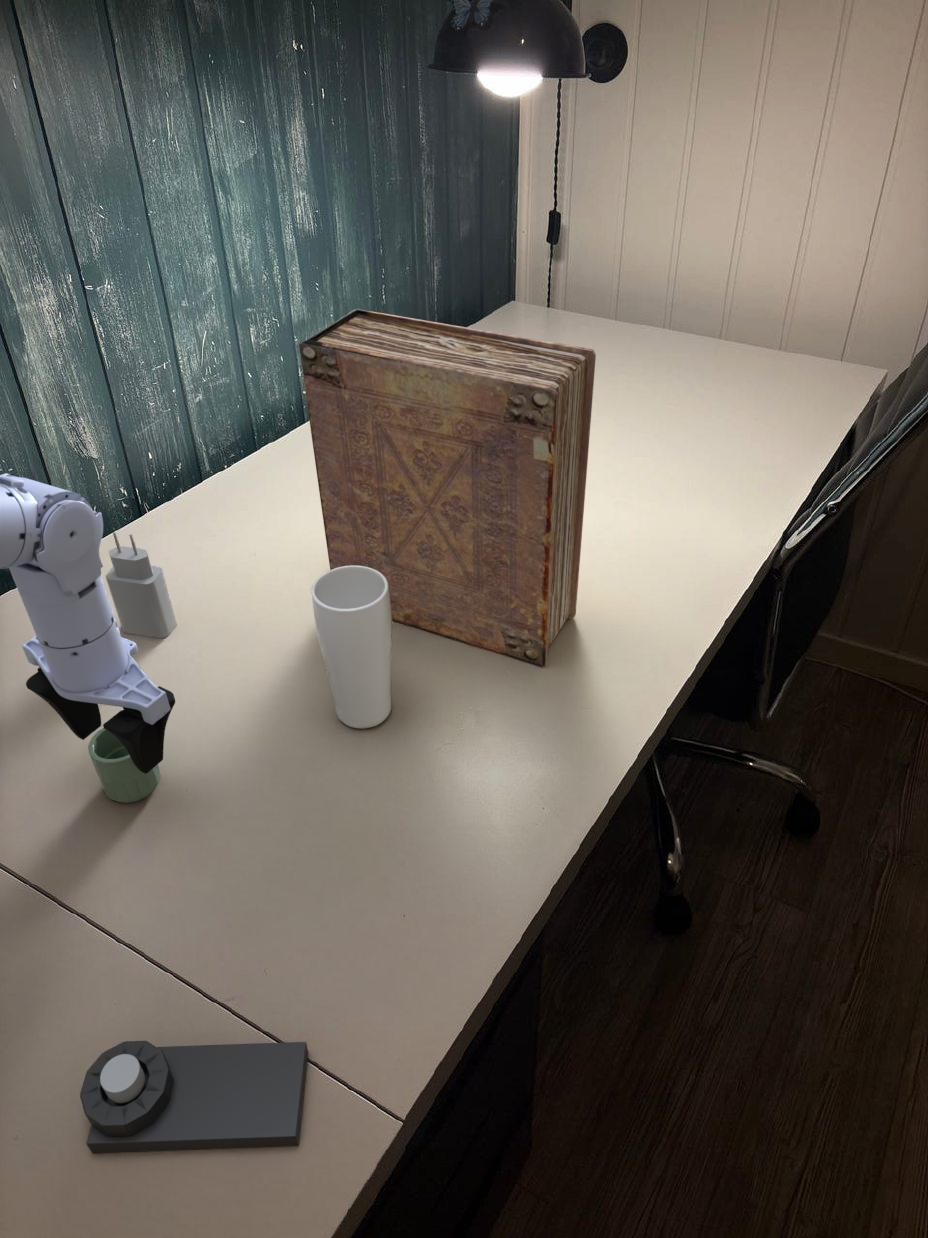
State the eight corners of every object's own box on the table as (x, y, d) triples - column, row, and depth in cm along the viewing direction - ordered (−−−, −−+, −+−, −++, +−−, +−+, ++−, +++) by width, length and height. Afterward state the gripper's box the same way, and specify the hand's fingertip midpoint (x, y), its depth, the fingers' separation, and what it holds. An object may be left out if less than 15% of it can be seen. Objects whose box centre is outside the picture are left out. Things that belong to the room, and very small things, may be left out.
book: (577, 617, 99) (599, 350, 80) (544, 669, 93) (559, 391, 74) (376, 559, 108) (352, 306, 89) (333, 602, 102) (298, 340, 83)
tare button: (101, 1104, 57) (95, 1093, 56) (112, 1066, 59) (105, 1054, 58) (140, 1103, 57) (134, 1092, 56) (149, 1064, 59) (143, 1053, 58)
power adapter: (134, 614, 101) (106, 522, 93) (179, 621, 100) (154, 528, 92) (119, 632, 98) (89, 538, 91) (165, 639, 97) (139, 545, 90)
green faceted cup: (108, 812, 79) (91, 769, 76) (102, 774, 82) (85, 731, 79) (165, 795, 80) (150, 751, 77) (156, 758, 84) (142, 715, 80)
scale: (81, 1154, 58) (68, 1133, 56) (107, 1058, 62) (96, 1036, 60) (298, 1146, 58) (292, 1125, 56) (308, 1051, 62) (303, 1029, 61)
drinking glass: (404, 689, 91) (394, 565, 81) (393, 739, 85) (382, 613, 76) (336, 685, 91) (319, 562, 82) (322, 735, 86) (301, 609, 76)
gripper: (182, 626, 70) (215, 749, 78) (54, 570, 76) (98, 690, 84) (110, 680, 65) (154, 805, 74) (-20, 616, 71) (34, 739, 80)
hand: (120, 748), depth 79 cm, fingers open, 7 cm apart
